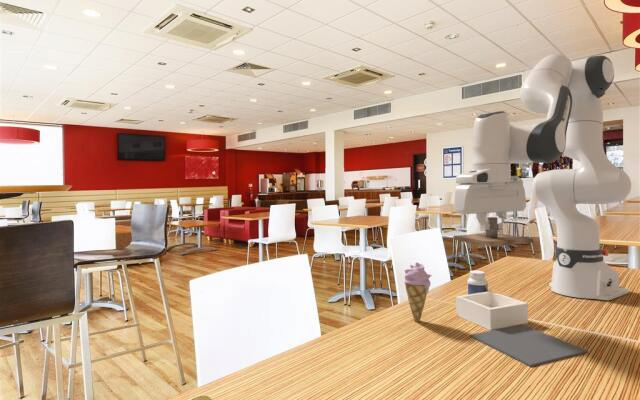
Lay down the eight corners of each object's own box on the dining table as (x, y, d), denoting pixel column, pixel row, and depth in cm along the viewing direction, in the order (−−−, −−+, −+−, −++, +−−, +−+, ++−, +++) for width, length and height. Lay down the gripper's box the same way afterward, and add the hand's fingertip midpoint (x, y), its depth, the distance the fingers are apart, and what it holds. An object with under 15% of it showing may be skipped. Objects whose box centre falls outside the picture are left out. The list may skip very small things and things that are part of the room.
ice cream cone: (432, 318, 100) (431, 261, 100) (431, 326, 94) (430, 266, 94) (406, 316, 102) (405, 260, 102) (403, 324, 96) (403, 265, 96)
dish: (490, 308, 107) (490, 291, 107) (527, 322, 96) (527, 303, 95) (456, 314, 103) (455, 296, 102) (490, 330, 91) (490, 309, 91)
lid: (491, 236, 106) (491, 214, 106) (532, 242, 94) (532, 218, 93) (453, 239, 101) (453, 217, 101) (491, 246, 89) (491, 220, 89)
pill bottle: (489, 308, 107) (489, 274, 107) (469, 307, 108) (469, 273, 108) (485, 302, 112) (485, 270, 112) (466, 302, 113) (465, 269, 113)
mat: (522, 326, 94) (522, 324, 94) (588, 352, 79) (588, 350, 79) (470, 336, 88) (470, 334, 88) (530, 366, 73) (530, 364, 73)
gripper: (512, 176, 103) (512, 226, 104) (450, 176, 96) (450, 231, 97) (532, 175, 97) (532, 229, 98) (468, 176, 90) (468, 234, 91)
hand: (491, 230), depth 97 cm, fingers closed on lid, 3 cm apart
